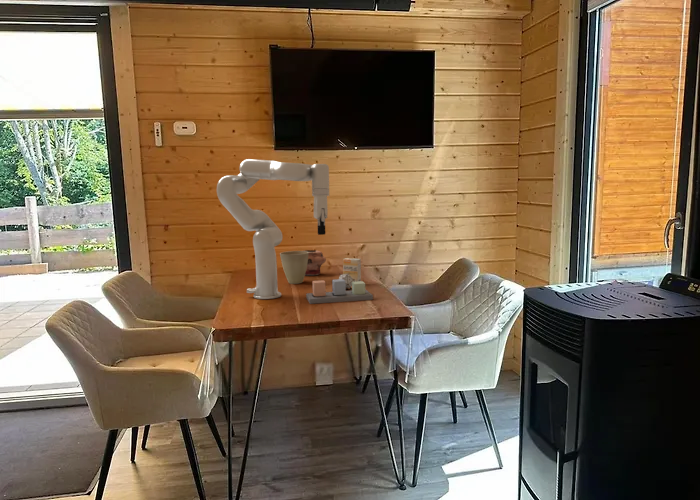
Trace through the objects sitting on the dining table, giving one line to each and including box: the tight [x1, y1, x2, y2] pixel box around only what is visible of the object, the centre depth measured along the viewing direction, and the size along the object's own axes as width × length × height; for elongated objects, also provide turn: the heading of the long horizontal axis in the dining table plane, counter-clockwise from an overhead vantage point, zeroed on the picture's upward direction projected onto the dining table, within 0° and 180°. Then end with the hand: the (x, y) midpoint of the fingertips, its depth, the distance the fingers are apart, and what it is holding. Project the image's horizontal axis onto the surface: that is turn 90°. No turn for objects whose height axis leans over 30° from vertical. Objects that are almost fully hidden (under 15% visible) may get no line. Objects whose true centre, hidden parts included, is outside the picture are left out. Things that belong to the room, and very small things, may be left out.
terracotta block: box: [312, 279, 327, 296], centre depth 217 cm, size 5×5×6 cm
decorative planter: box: [304, 249, 327, 276], centre depth 280 cm, size 20×12×14 cm, turn 91°
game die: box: [338, 272, 355, 290], centre depth 239 cm, size 9×8×10 cm
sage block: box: [351, 280, 366, 295], centre depth 221 cm, size 5×5×6 cm
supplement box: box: [342, 257, 362, 282], centre depth 252 cm, size 8×5×13 cm, turn 68°
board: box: [305, 289, 374, 305], centre depth 220 cm, size 28×12×2 cm, turn 103°
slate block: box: [331, 278, 347, 295], centre depth 219 cm, size 5×5×6 cm
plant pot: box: [279, 250, 309, 285], centre depth 257 cm, size 15×15×16 cm
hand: (321, 234), depth 217 cm, fingers closed
